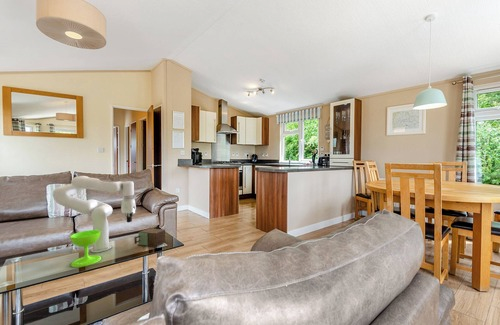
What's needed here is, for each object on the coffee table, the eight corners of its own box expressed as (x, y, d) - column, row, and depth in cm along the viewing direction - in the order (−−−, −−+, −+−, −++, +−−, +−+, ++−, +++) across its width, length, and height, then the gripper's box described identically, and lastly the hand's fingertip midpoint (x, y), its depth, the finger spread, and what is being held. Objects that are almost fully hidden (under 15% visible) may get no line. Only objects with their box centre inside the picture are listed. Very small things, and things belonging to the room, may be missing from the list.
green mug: (133, 246, 168) (133, 234, 168) (139, 243, 173) (139, 232, 173) (142, 247, 165) (142, 235, 165) (148, 244, 171) (147, 233, 171)
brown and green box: (137, 245, 172) (137, 232, 172) (149, 240, 183) (149, 228, 183) (154, 247, 167) (154, 234, 167) (165, 242, 178) (165, 229, 178)
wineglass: (106, 258, 150) (106, 231, 150) (80, 269, 135) (79, 239, 135) (91, 254, 157) (91, 229, 156) (65, 264, 142) (64, 236, 142)
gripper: (116, 198, 169) (117, 222, 169) (132, 198, 164) (133, 223, 164) (125, 196, 176) (125, 220, 176) (140, 197, 171) (141, 221, 171)
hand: (129, 221), depth 170 cm, fingers closed
